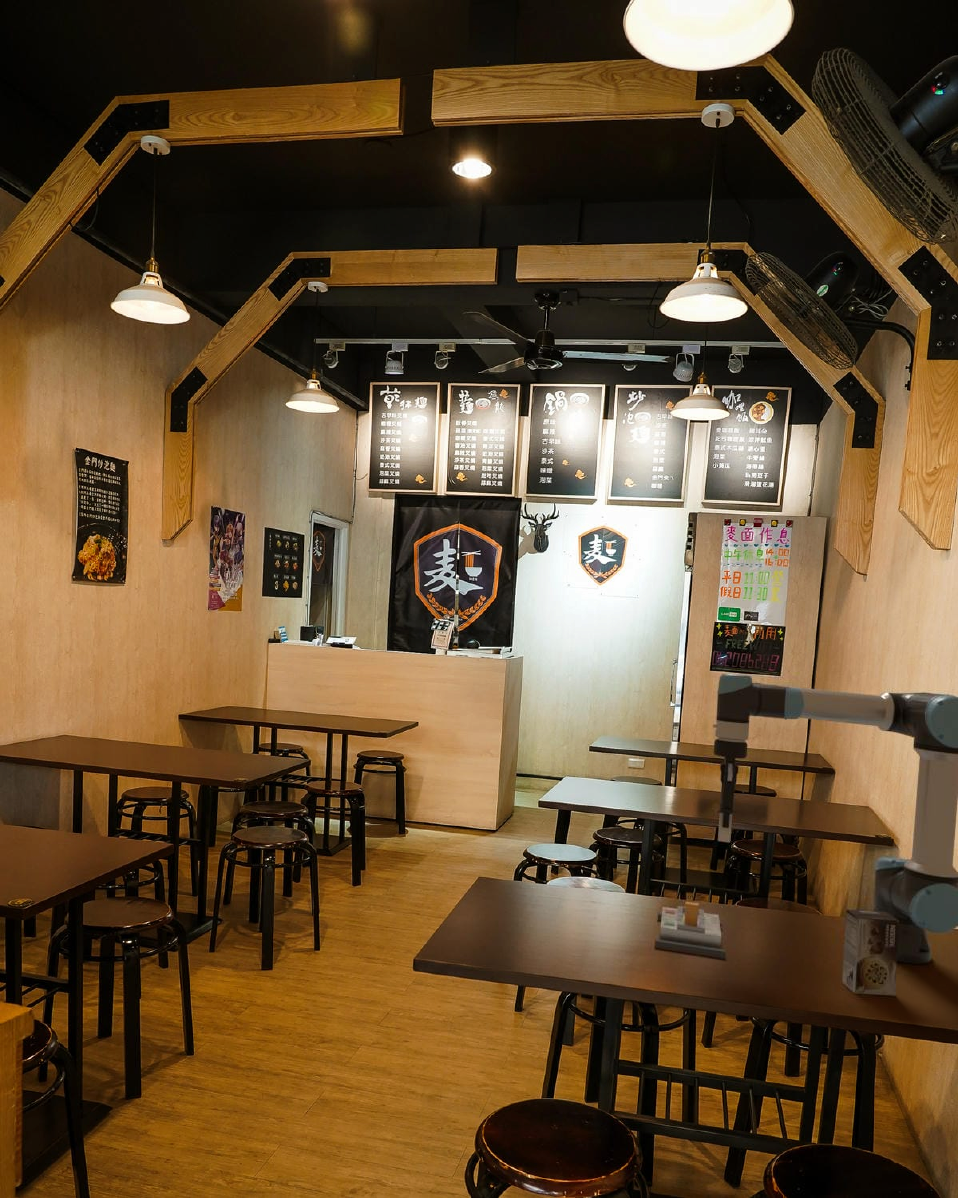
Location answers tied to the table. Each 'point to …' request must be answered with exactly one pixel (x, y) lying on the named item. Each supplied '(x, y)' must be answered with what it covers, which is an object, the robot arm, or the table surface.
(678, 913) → the panel
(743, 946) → the table surface
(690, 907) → the lever
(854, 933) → the coffee box
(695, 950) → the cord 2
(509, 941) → the table surface
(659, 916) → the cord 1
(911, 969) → the table surface
